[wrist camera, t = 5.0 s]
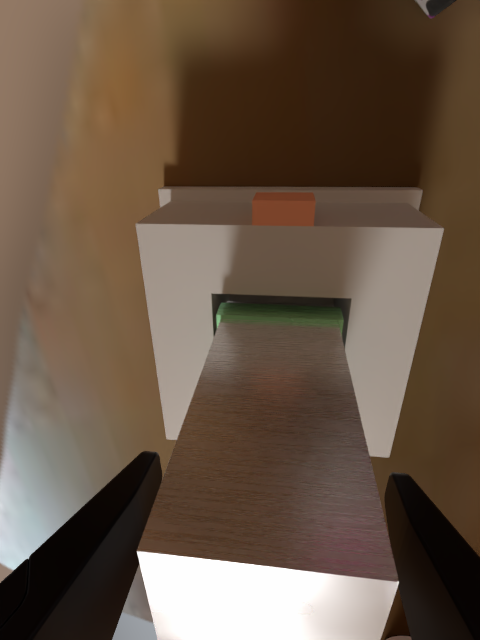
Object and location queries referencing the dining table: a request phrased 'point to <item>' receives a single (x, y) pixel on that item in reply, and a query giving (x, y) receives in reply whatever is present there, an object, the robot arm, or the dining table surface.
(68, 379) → the dining table surface
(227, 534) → the column
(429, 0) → the candy bar box
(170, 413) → the stand base
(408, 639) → the smoothie
